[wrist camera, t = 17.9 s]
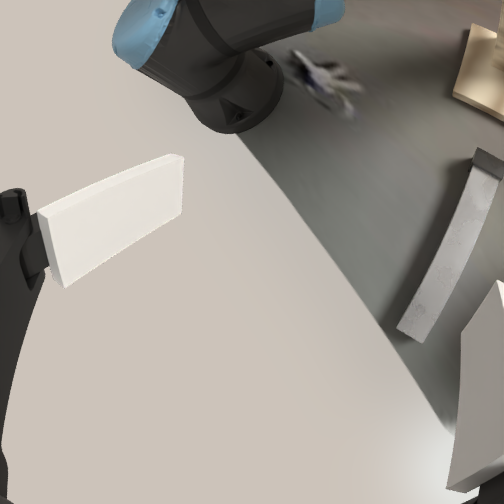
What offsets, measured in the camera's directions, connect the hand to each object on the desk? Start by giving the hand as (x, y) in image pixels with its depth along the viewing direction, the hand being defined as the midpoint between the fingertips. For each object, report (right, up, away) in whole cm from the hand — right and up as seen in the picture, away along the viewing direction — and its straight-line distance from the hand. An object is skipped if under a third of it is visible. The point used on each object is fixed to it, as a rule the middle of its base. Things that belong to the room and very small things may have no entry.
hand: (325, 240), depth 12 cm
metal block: (+20, 0, +20) cm, 29 cm away
